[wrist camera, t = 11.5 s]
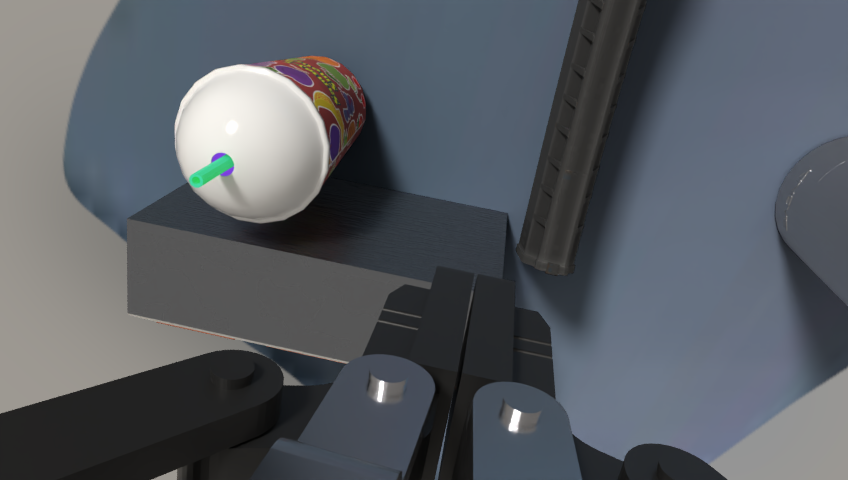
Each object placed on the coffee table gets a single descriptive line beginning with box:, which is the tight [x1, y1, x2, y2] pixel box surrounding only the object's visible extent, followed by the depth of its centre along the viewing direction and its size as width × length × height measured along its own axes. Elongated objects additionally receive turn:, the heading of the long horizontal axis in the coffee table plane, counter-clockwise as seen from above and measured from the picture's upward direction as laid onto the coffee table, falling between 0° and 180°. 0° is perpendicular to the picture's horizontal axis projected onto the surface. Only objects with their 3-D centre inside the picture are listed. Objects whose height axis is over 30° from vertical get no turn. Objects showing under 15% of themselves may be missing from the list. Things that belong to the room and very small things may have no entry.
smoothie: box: [175, 56, 366, 224], centre depth 38 cm, size 8×8×20 cm
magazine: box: [516, 0, 647, 276], centre depth 39 cm, size 17×3×30 cm
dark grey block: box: [127, 177, 507, 364], centre depth 44 cm, size 21×6×14 cm, turn 81°
